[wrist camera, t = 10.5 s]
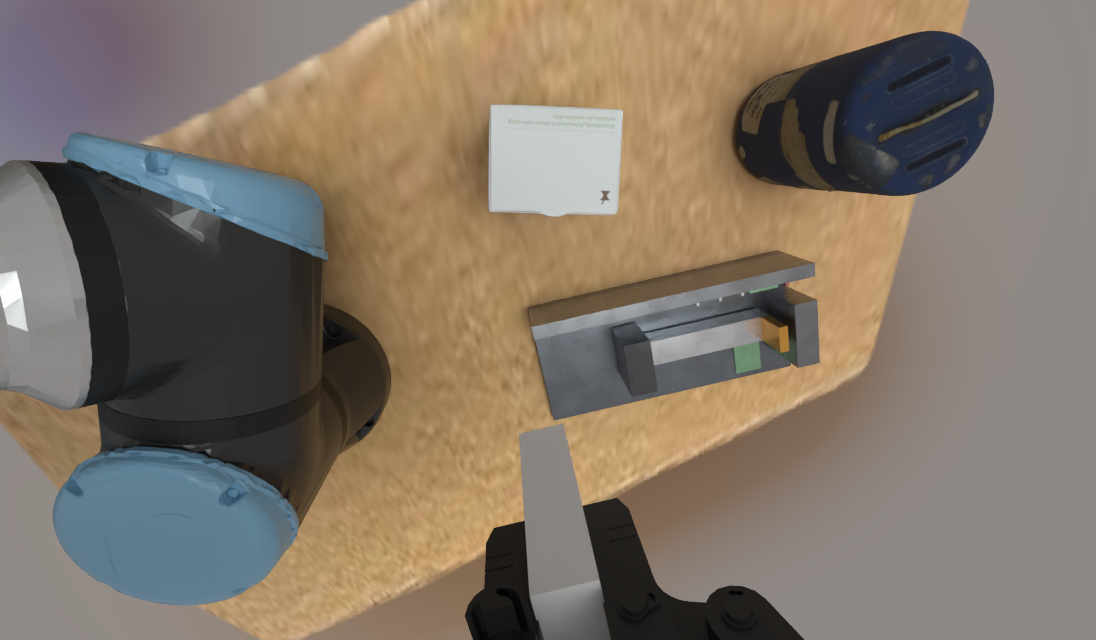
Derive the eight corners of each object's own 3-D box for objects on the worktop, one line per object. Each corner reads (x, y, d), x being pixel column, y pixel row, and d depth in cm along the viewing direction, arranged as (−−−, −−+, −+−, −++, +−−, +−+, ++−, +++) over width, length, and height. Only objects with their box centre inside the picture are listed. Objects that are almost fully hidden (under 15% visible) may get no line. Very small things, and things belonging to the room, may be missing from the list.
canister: (831, 173, 48) (1015, 182, 31) (733, 194, 48) (864, 215, 30) (829, 63, 45) (1032, 4, 28) (725, 84, 44) (865, 39, 27)
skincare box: (588, 123, 44) (632, 105, 30) (584, 199, 46) (623, 219, 32) (492, 118, 44) (488, 97, 29) (492, 197, 46) (488, 215, 31)
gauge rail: (552, 414, 53) (560, 452, 46) (527, 307, 49) (532, 331, 42) (784, 361, 53) (826, 390, 46) (777, 250, 50) (821, 265, 43)
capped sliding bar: (619, 374, 50) (633, 400, 45) (611, 328, 49) (624, 349, 44) (759, 342, 51) (790, 364, 45) (755, 295, 49) (786, 312, 44)
